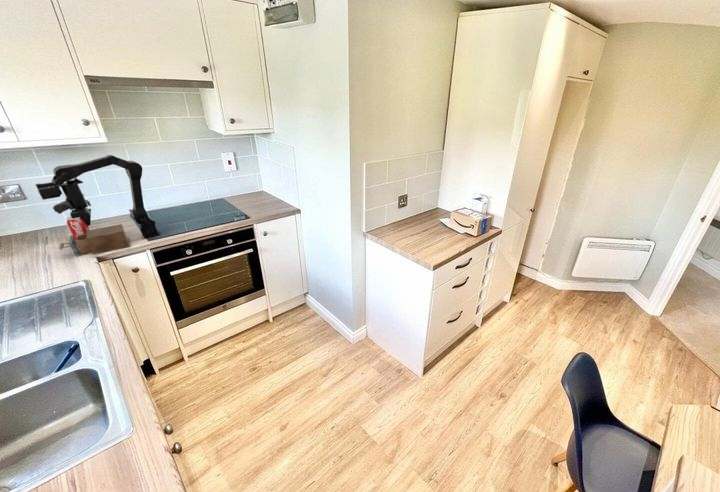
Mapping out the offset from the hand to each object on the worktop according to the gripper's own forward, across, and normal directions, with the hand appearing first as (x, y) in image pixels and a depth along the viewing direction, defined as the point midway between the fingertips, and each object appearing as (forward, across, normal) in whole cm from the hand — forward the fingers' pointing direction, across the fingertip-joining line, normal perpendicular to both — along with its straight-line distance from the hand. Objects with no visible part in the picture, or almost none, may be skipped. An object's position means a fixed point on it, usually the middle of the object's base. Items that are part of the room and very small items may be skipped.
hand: (88, 225), depth 154 cm
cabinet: (+13, 0, +4) cm, 13 cm away
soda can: (+13, -19, -7) cm, 24 cm away
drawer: (+12, 0, -5) cm, 13 cm away
